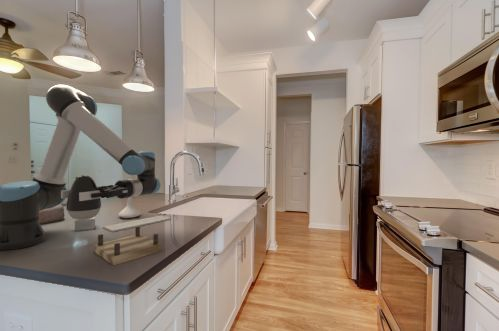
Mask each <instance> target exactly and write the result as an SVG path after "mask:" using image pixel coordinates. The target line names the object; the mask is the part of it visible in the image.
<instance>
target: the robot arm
mask: <svg viewBox="0 0 499 331" xmlns="http://www.w3.org/2000/svg"><path fill="white" fill-rule="evenodd" d="M45 100H46V104H47V105H48V107H49V108H50V109H51V110H52V111H53V112H54V113H55V117H56V119H57V120H58V121H57V123H56V127H55V130H54V133H53V135H52V138H51V141H50V144H49V146H48V148H47V152H46V154H45V157H44V160H43V163H42V166H41V168H40V171H39V173H36V174H35V175H33V177H32V180H23V181H13V182H8V183H5V184H1V185H0V251H9V250H10V251H11V250H17V249H18V250H19V249H22V248H27V247H32V246H35V245H38V244H41V243H42V242H44V241H45V239H46V237H45V236H46V233H45V231H44V229H43V227H42V224H40V222H39V211H41V210H44V209H47V208H53V207H55V206H57V205H59V204H61V205H62V203H64V201H65V200H66V199H68V196H69V192H70V189H68V188H67V186H66V184H67V180H66V179H65V176H66V173H67V170H68V167H69V164H70V161H71V158H72V156H73V153H74V150H75V148H76V144H77V142H78V139H79V136H80V133H81V132H82V133H83V134H84V135H85V136H87V138H89V139H90V140H91V141H92V142H94V143H95V144H96V145H97V146H98V147H99V148H100V149H102V151H104V152H105V153H107V154H108V155H109V156H110V157H111V158H113V160H115V161H116V162H117V163H118V164H119V165H120V166H121V168H122V170H123V172H124V173H126V174H127V175H130V176H131V175H134V176H137V177H136V178H135V179H133V178H128V179H121V180H120V179H119V180H117V181H116V182H115V183H114V184H108V185H100V186H97V188H98V191H89V192H81V193H79V201H85V200H91V199H98V198H100V199H104V198H105V199H109V198H115V197H116V198H118V199H127V198H128V197H132V199H134V198H136V197H139V196H147V195H152V194H156V193H158V191H160V189H161V181H160V179H159V178H158V177H156V154H155V152H154V151H138V152H136V151H135V150H134V149H133V148H132V147H131V146H130V145H128V143H126V142H125V141H124V140H123V139H122V138H121V137H119V136H118V135H117V134H116V133H115V132H113V130H111V128H109V127H108V126H107V125H106V124H105V123H103V122H102V121H101V120H100V119H99V118H97V117H96V115H97V112H98V105H97V102H96V100H95V98H93V97H92V96H90V95H89V94H88V93H86V92H83V91H81V90H79V89H77V88H74V87H73V86H70V85H67V84H56V85H54V86H52V87H50V88H49V89H48V91H46V95H45Z"/></svg>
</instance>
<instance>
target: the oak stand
mask: <svg viewBox="0 0 499 331" xmlns="http://www.w3.org/2000/svg"><path fill="white" fill-rule="evenodd" d="M140 229H141V226H139V227H135V228H134V230H135V234H133V235H129V236H124V237H121V238H118V239H113V240H107V241H104V233H103V234H102V233H101V234H98V235H97V243H96V244H93V249H92V250H93V253H95V254H97V255H98V256H99V257H101V258H102V259H104V260H105V261H106V262H108V263H109V264H111V265H112V266H117V265H119V264H123V263H126V262H129V261H133V260H135V259H140V258H143V257H145V256H149V255H151V254H155V253H158V252H162V251H163V243H162V242H160V241H159V233H154V234H153V238H150V237H148V236H146V235H143V234H141V230H140Z"/></svg>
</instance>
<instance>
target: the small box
mask: <svg viewBox="0 0 499 331" xmlns="http://www.w3.org/2000/svg"><path fill="white" fill-rule="evenodd" d="M95 226H96V216H95V217H93V218H90V219H85V220H77V219H74V231H75V232H77V231H78V232H79V231H88V230H89V231H90V230H95Z"/></svg>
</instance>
